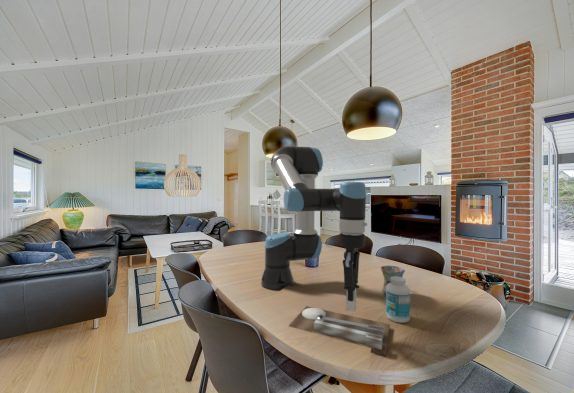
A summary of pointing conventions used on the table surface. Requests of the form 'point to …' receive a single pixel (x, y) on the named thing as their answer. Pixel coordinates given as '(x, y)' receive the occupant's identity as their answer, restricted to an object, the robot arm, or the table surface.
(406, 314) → the pill bottle
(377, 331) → the tong jaw
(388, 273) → the mug
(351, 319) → the board
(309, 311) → the rest pad
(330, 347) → the table surface
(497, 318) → the table surface
